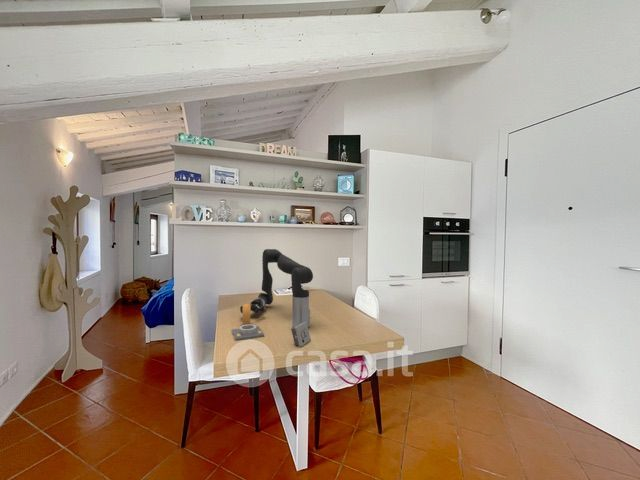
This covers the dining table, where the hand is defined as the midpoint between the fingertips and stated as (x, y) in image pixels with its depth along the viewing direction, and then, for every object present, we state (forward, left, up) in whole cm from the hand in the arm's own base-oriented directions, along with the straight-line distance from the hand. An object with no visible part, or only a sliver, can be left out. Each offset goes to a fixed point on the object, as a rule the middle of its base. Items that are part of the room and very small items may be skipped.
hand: (248, 311), depth 159 cm
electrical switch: (-17, +41, -7) cm, 45 cm away
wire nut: (+2, +3, -6) cm, 7 cm away
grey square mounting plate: (+4, +19, -6) cm, 20 cm away
